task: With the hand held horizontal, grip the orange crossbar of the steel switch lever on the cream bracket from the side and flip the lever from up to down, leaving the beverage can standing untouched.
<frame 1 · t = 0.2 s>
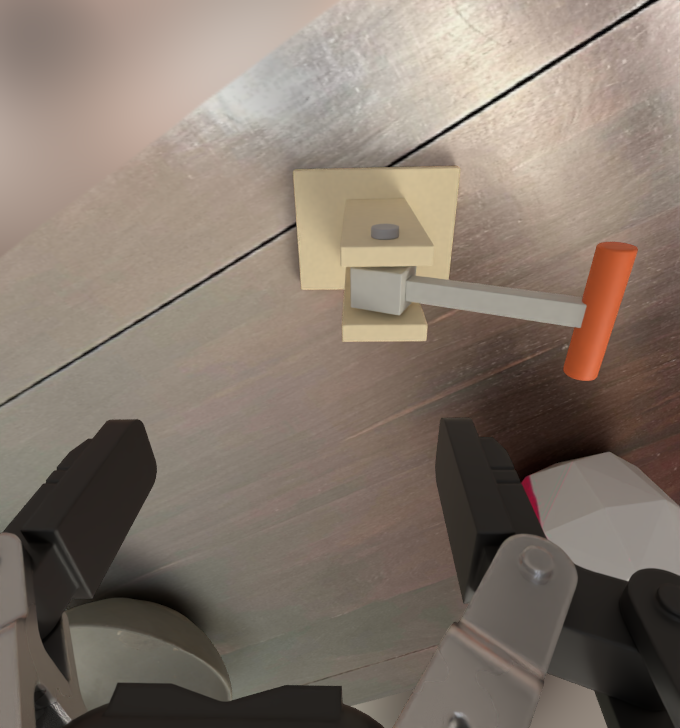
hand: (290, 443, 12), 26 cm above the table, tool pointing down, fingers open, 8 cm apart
bowl: (150, 621, 63), on the table
decorative object: (563, 479, 47), on the table
lever: (472, 297, 21), point 15 cm above the table, hinge at 25.0°
bracket: (374, 229, 34), on the table
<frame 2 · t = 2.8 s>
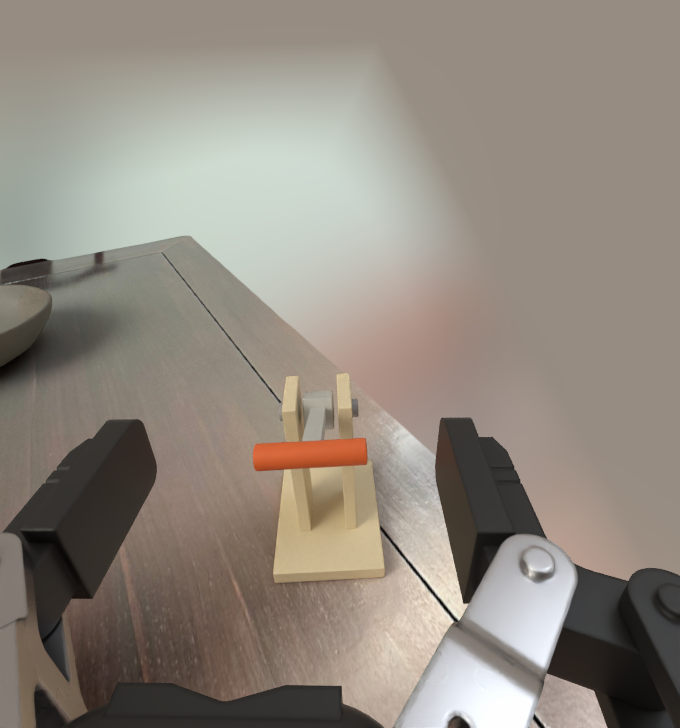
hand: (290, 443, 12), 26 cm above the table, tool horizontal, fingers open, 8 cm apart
lever: (315, 426, 28), point 15 cm above the table, hinge at 25.0°
bracket: (329, 518, 40), on the table
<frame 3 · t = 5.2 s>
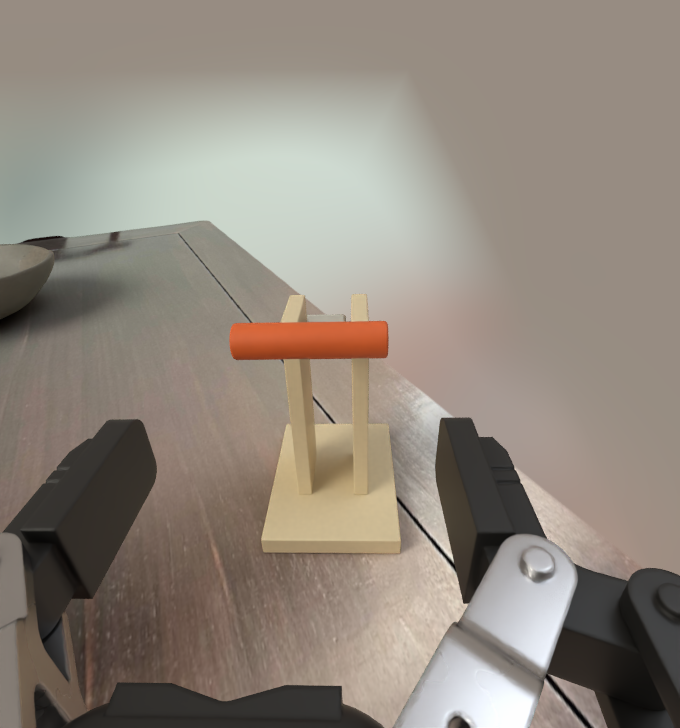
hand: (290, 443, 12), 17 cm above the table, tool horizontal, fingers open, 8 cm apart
lever: (321, 336, 22), point 15 cm above the table, hinge at 25.0°
bracket: (334, 485, 33), on the table
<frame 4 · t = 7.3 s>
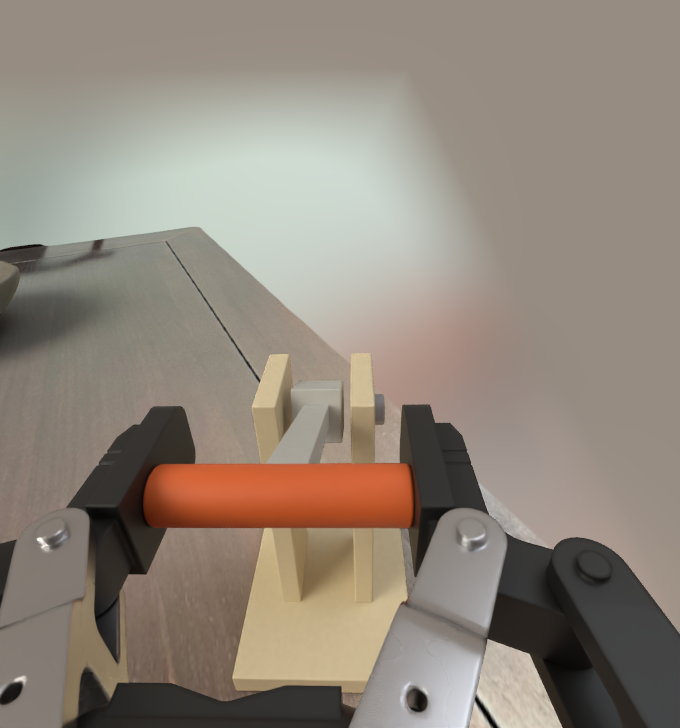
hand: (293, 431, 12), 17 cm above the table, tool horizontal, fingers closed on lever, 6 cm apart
lever: (307, 435, 15), point 15 cm above the table, hinge at 25.0°, touching gripper
bracket: (330, 579, 27), on the table
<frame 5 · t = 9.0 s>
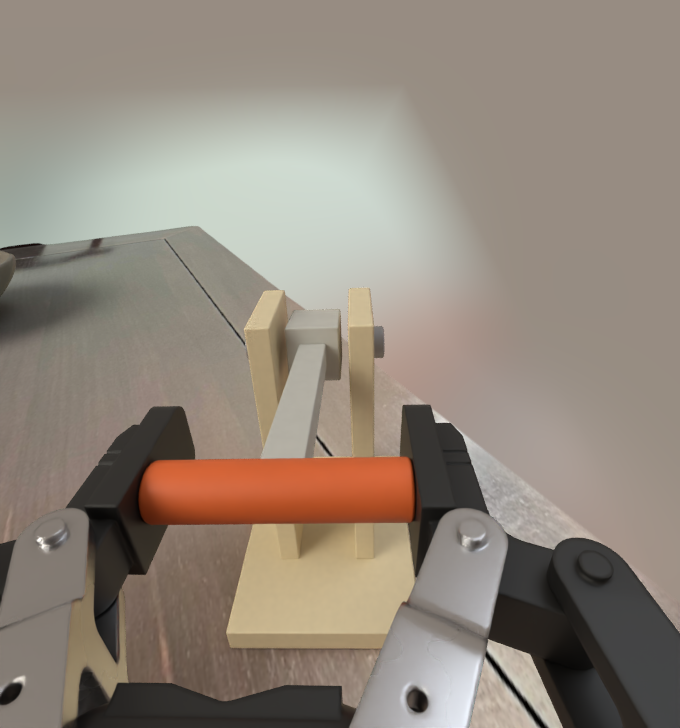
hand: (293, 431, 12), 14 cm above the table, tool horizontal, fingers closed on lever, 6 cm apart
lever: (304, 389, 15), point 14 cm above the table, hinge at 6.5°, touching gripper
bracket: (330, 541, 25), on the table
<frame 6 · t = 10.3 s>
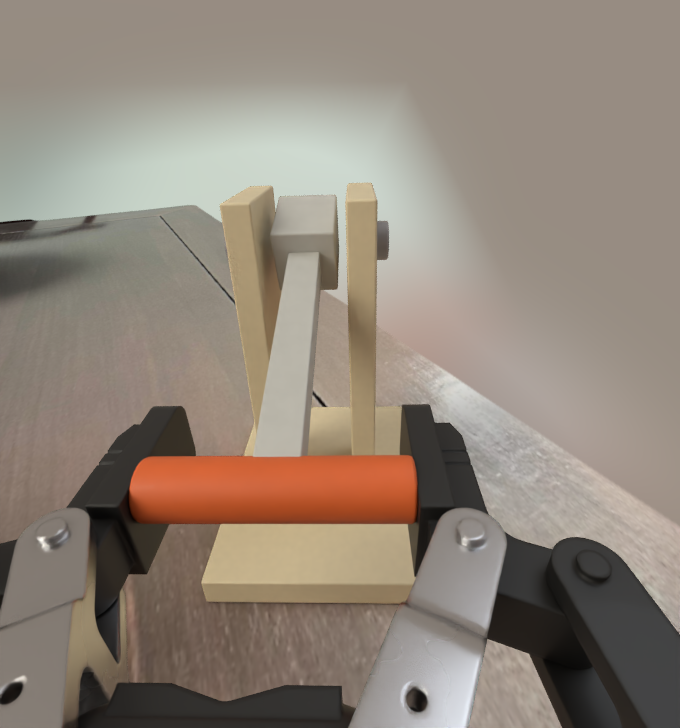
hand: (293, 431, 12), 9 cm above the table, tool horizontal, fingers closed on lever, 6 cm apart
lever: (297, 325, 13), point 12 cm above the table, hinge at -18.2°, touching gripper
bracket: (325, 492, 23), on the table
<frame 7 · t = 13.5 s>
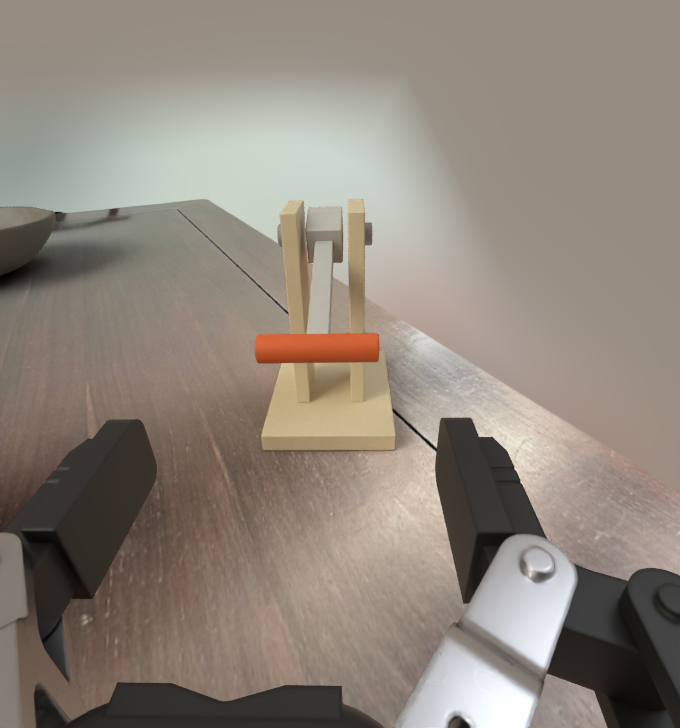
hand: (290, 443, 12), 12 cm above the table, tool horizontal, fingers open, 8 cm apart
lever: (322, 280, 25), point 11 cm above the table, hinge at -19.2°
bracket: (332, 399, 34), on the table
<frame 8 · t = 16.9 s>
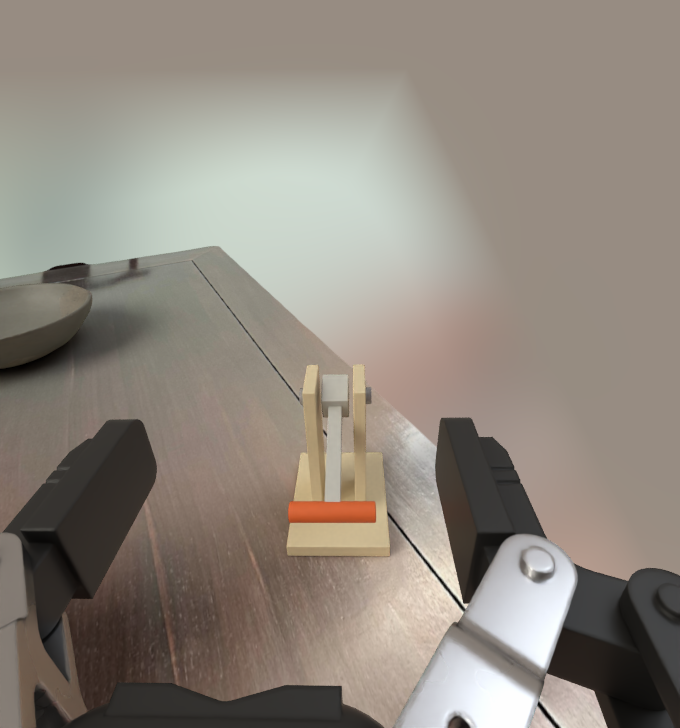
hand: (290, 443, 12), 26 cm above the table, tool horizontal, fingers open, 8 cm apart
bowl: (15, 355, 73), on the table
lever: (334, 444, 33), point 11 cm above the table, hinge at -19.2°
bracket: (340, 503, 43), on the table
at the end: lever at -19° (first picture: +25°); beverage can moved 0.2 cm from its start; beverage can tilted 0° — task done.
